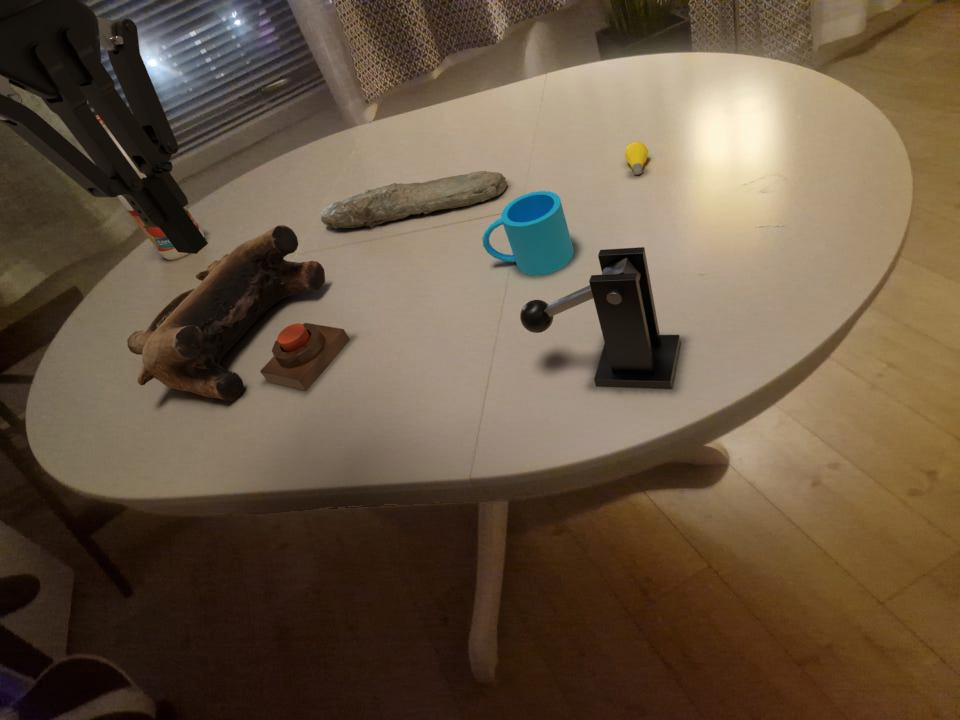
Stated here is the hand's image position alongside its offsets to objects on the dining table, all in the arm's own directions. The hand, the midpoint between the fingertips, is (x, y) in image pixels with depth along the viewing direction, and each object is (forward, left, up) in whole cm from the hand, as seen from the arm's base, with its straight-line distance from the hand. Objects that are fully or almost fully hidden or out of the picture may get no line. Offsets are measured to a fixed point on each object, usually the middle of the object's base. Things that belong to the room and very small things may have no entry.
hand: (192, 247), depth 56 cm
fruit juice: (+34, +74, -30) cm, 87 cm away
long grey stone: (+49, +23, -30) cm, 62 cm away
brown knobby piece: (+14, +36, -30) cm, 49 cm away
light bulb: (+61, -14, -30) cm, 69 cm away
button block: (+12, +16, -29) cm, 36 cm away
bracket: (+20, -28, -29) cm, 46 cm away
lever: (+20, -24, -21) cm, 38 cm away
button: (+12, +17, -26) cm, 33 cm away
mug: (+37, -7, -30) cm, 48 cm away
